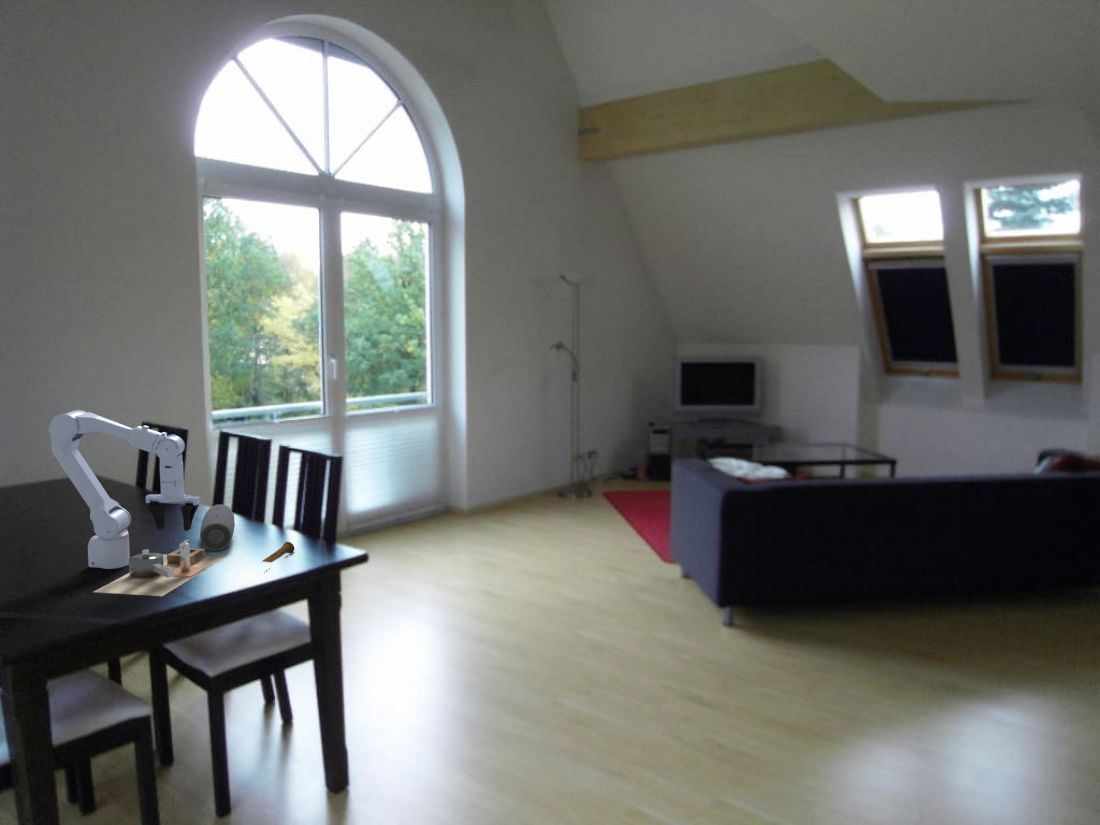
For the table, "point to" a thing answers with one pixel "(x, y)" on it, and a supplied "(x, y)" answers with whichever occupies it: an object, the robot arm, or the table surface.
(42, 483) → the table surface
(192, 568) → the tile
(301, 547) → the table surface
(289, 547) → the primitive tool
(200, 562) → the board
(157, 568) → the grey cylinder with handle
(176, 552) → the socket block
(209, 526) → the bluetooth speaker
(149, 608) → the table surface
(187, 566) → the key peg
